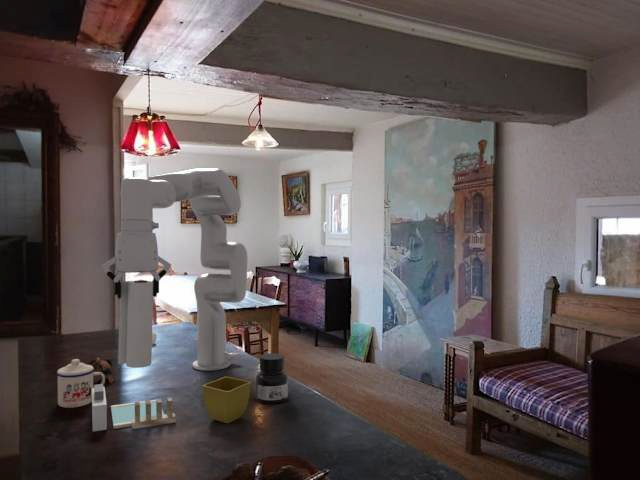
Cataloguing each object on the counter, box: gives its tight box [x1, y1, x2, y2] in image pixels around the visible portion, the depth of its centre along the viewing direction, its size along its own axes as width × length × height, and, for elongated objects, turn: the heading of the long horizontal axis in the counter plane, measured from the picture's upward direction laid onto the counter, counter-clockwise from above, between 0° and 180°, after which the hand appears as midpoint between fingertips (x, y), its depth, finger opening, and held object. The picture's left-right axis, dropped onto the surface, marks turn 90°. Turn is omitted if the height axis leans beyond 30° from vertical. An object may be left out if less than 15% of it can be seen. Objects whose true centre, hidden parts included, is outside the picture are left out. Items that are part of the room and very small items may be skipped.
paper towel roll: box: [117, 279, 154, 369], centre depth 127 cm, size 7×6×21 cm
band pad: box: [110, 399, 165, 430], centre depth 128 cm, size 12×14×1 cm
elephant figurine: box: [152, 330, 160, 345], centre depth 202 cm, size 7×8×6 cm
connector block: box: [91, 383, 108, 433], centre depth 124 cm, size 3×14×8 cm, turn 25°
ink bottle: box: [255, 353, 289, 405], centre depth 140 cm, size 10×9×12 cm
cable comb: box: [131, 397, 177, 430], centre depth 122 cm, size 10×2×6 cm, turn 115°
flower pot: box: [201, 376, 252, 424], centre depth 125 cm, size 9×9×9 cm
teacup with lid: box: [56, 358, 106, 409], centre depth 136 cm, size 12×9×12 cm
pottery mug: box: [85, 357, 116, 384], centre depth 155 cm, size 12×10×8 cm
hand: (137, 296), depth 127 cm, fingers closed on paper towel roll, 7 cm apart
